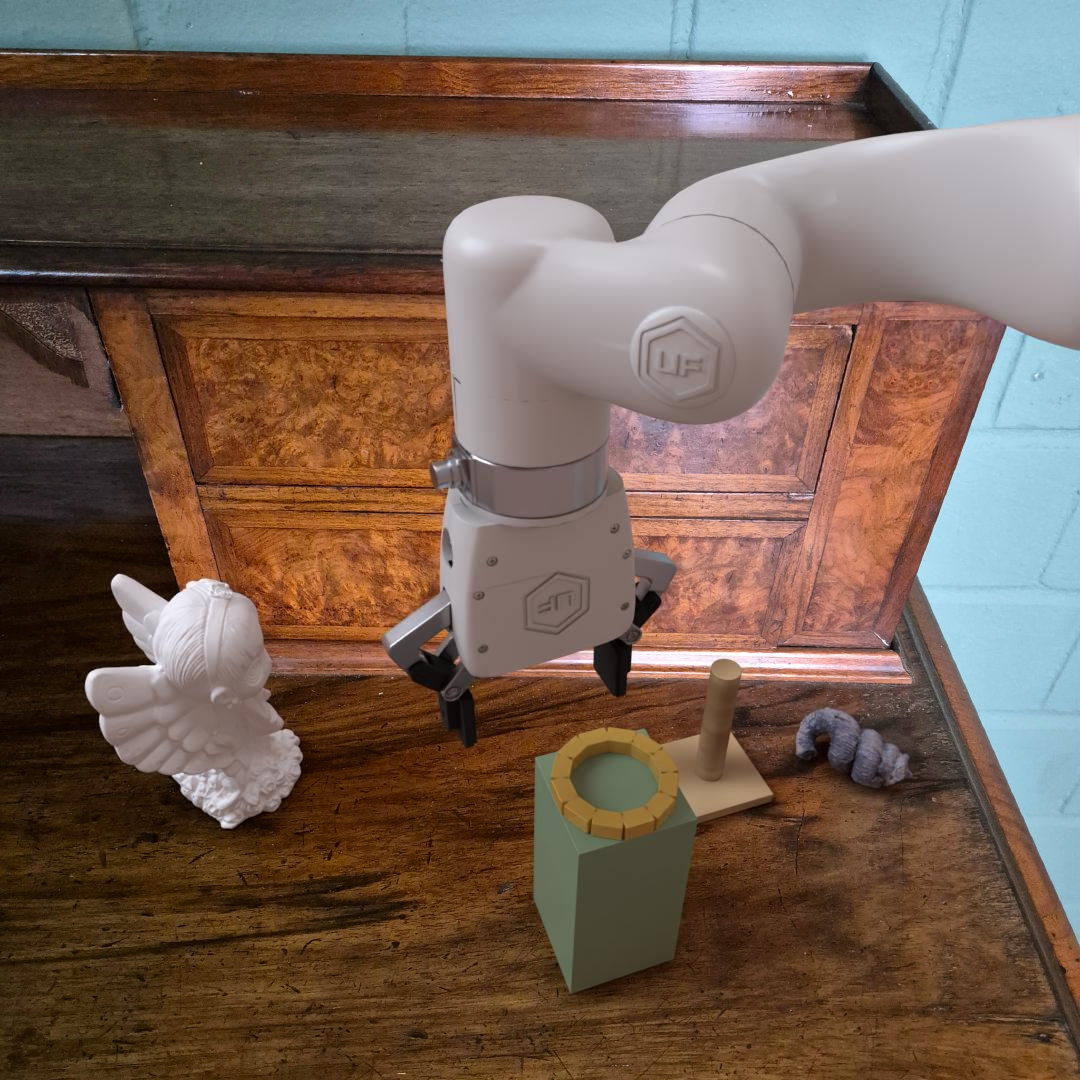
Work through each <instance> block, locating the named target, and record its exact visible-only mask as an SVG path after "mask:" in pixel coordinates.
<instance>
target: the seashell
mask: <svg viewBox="0 0 1080 1080" xmlns="http://www.w3.org/2000/svg"><path fill="white" fill-rule="evenodd" d="M828 734H829V737H830V742H829V745H830V746H829V747H828V750H827V759H828V761H829V763H830V765H831V767H832V768H834V769H835V770H836V771H838V772H840V773H842V774H844V773H851V775H850V776H851V779H852V780H853V781H854V782H855V783H858V784H860V785H862V786H865V787H869V788H873V789H879V788H881V786H885V787H889V786H892V785H895V784H897V783H900V782H901V781H903V780H904V779H909V778H910V779H912V778H913V777H914V774H913V773H912V771H910V769H909V762H910V755H909V753H902V752H901V751H900V747H899V746H898V744H894V743H888V742H884V739H883V736H882V735H881V734H880V733H879V732H877V731H876V730H875V729H873V728H869V729H868V728H862V729H861V727H860V724H859V722H858V721H857V720H856V719H855V718H854V717H853V716H851V715H850V714H848V713H847V712H845V711H842V710H838V709H836V708H835V707H833V708H831V707H829V706H825V707H824V708H820V709H816V710H814V711H811V712H810V713H809V714H808V715H805V716H804V718H803V719H802V721H801V722H800V726H799V728H798V731H797V733H796V738H795V756H797V757H799V758H800V759H803V760H806V761H811V760H812V758H814V757H816V756H818V754H819V753H818V751H817V749H816V741H817V739H818V738H819V737H820V736H825V735H828Z"/></svg>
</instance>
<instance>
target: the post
mask: <svg viewBox="0 0 1080 1080" xmlns="http://www.w3.org/2000/svg"><path fill="white" fill-rule="evenodd" d="M742 672H743V670H742V667H741V665H740V664H739V663H738V662H737V661H735V660H733V659H730V658H719V659H716V660H714V661H713V662H712V664H711V665H710V671H709V677H708V681H707V688H706V695H705V702H704V708H703V713H702V722H701V726H700V733H699V734H695V735H692V736H688V737H685V738H680V739H677V740H674V741H669V742H665V743H662V744H661V745H662V746H663V749H666V751H667V752H668V754H669V756H670V757H671V759H672V761H673V762H674V764H675V766H676V767H677V769H678V774H679V779H678V786H679V788H680V790H681V791H682V793H683V795H684V796H685V798H686V800H687V801H688V803H689V805H690V807H691V808H692V810H693V812H694V813H695V815H696V817H697V818H698V821H697V825H698V824H702V823H705V822H708V821H711V820H715V819H718V818H722V817H724V816H728V815H731V814H735V813H739V812H741V811H745V810H748V809H752V808H754V807H758V806H762V805H764V804H767V803H772V802H773V797H774V793H773V791H772V790H771V788H770V787H769V786H768V784H767V782H766V781H765V779H764V778H763V776H762V775H761V774H760V772H759V771H758V769H757V768H756V766H755V765H754V763H753V762H752V761H751V759H750V758H749V756H748V754H747V753H746V752H745V750H744V749H743V747H742V746H741V744H740V743H739V741H738V740H737V738H736V737H735V735H734V734H733V732H732V726H733V721H734V715H735V711H736V706H737V701H738V694H739V689H740V684H741V678H742V674H743V673H742ZM663 749H662V750H663Z"/></svg>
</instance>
